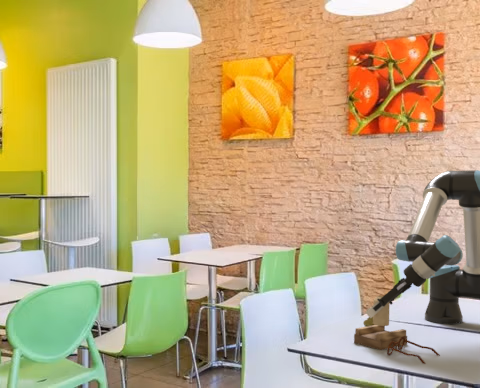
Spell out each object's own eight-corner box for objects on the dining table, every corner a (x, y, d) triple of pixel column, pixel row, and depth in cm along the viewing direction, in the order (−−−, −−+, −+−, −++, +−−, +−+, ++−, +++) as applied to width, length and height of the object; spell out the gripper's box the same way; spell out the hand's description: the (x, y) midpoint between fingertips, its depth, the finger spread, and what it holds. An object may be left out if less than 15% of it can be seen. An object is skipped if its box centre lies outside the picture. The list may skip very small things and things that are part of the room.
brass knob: (359, 333, 218) (359, 306, 218) (371, 330, 223) (371, 304, 223) (375, 337, 213) (376, 310, 213) (387, 334, 217) (387, 307, 217)
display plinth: (380, 337, 213) (380, 323, 213) (407, 344, 203) (407, 330, 203) (354, 342, 204) (354, 328, 204) (381, 350, 195) (381, 335, 195)
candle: (389, 326, 200) (390, 297, 200) (373, 325, 201) (373, 296, 201) (388, 323, 206) (389, 295, 206) (372, 322, 207) (373, 294, 207)
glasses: (402, 349, 198) (402, 334, 198) (440, 356, 190) (440, 341, 190) (386, 357, 188) (386, 342, 188) (425, 365, 180) (425, 349, 180)
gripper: (421, 283, 188) (370, 327, 196) (432, 277, 204) (385, 317, 212) (405, 265, 191) (355, 309, 198) (417, 260, 207) (371, 301, 215)
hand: (370, 313), depth 205 cm, fingers closed on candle, 5 cm apart
